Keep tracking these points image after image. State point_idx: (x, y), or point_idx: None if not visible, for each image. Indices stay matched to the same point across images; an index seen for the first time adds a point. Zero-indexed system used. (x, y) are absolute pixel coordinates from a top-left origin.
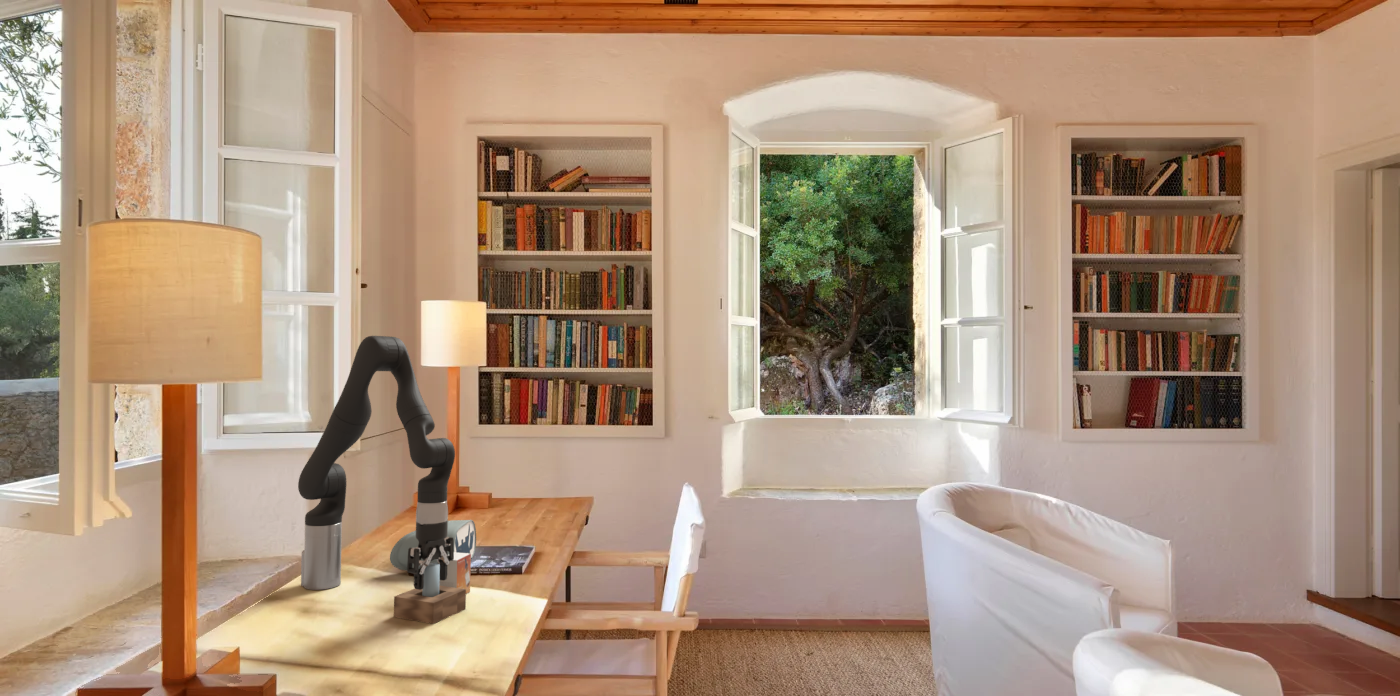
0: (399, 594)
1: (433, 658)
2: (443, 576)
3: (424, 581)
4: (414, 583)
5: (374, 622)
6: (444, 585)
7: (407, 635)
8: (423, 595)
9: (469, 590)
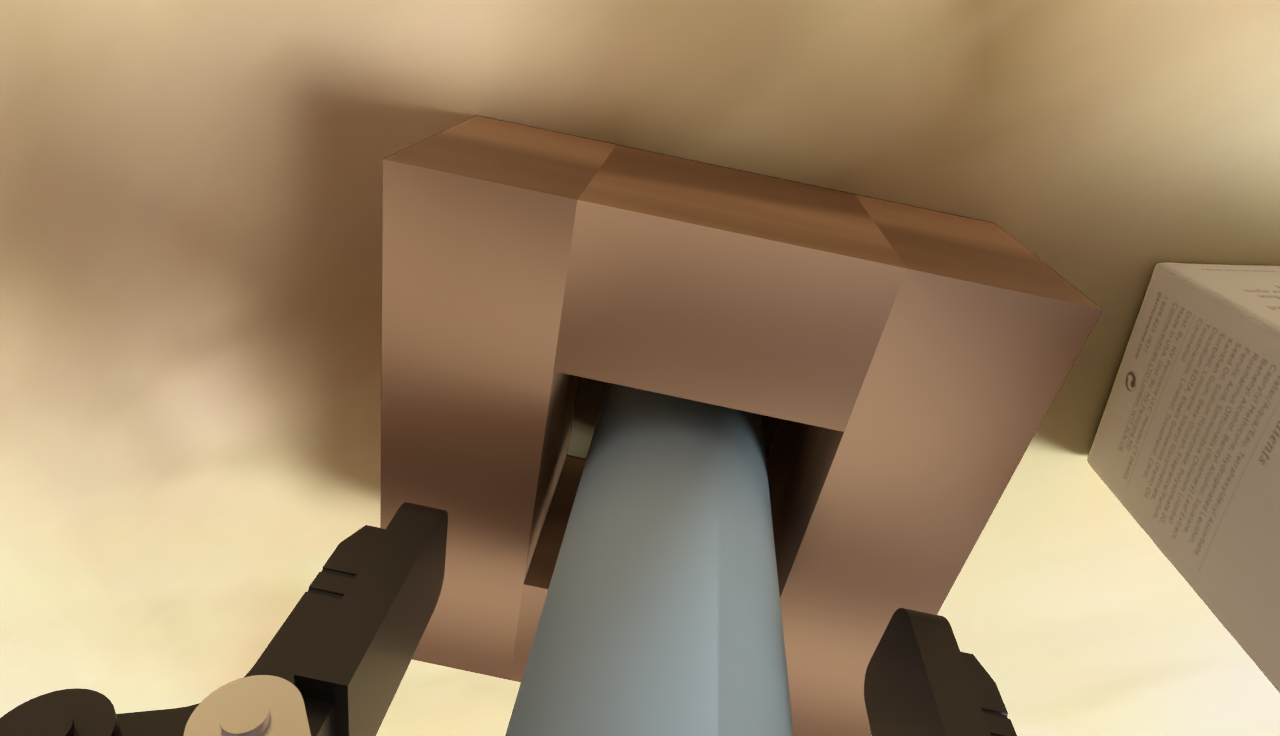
0: (490, 182)
1: (23, 701)
2: (882, 710)
3: (545, 605)
4: (326, 574)
5: (263, 4)
6: (1217, 423)
7: (180, 455)
8: (585, 466)
9: None
